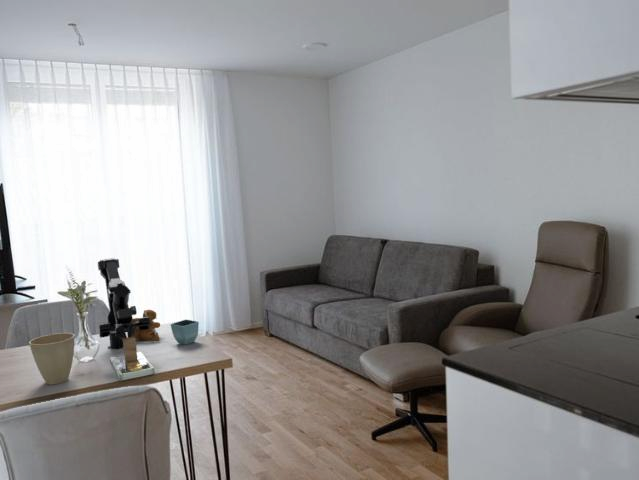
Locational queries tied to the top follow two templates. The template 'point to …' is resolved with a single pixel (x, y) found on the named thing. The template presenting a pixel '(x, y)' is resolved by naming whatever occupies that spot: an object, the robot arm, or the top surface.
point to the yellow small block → (134, 367)
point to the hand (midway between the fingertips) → (128, 345)
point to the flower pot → (185, 331)
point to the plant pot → (54, 356)
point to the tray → (135, 372)
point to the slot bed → (121, 362)
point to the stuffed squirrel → (147, 334)
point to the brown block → (130, 352)
